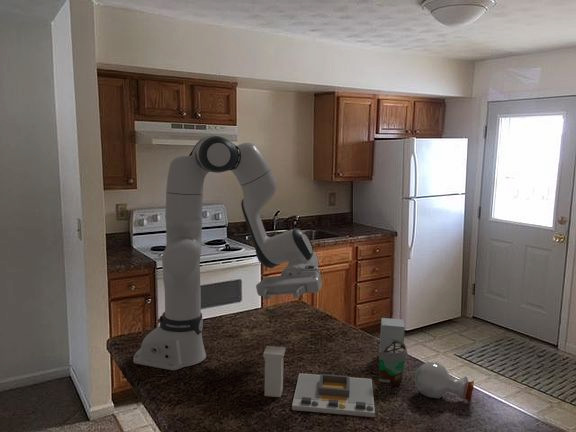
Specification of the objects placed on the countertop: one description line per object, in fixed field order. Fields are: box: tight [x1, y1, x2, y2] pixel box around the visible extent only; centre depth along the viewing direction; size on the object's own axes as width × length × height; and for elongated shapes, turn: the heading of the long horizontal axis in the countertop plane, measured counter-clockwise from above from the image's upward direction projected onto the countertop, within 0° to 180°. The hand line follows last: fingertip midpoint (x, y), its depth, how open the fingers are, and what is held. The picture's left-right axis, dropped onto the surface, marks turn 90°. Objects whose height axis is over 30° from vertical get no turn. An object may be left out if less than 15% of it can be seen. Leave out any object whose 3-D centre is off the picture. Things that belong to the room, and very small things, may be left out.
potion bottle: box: [414, 361, 475, 404], centre depth 127 cm, size 9×10×15 cm
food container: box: [378, 339, 408, 386], centre depth 137 cm, size 12×6×10 cm, turn 148°
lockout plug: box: [262, 345, 286, 398], centre depth 128 cm, size 5×5×12 cm
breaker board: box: [291, 372, 376, 418], centre depth 127 cm, size 21×18×3 cm
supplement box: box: [378, 317, 406, 355], centre depth 150 cm, size 7×7×13 cm
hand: (280, 296), depth 137 cm, fingers open, 8 cm apart
